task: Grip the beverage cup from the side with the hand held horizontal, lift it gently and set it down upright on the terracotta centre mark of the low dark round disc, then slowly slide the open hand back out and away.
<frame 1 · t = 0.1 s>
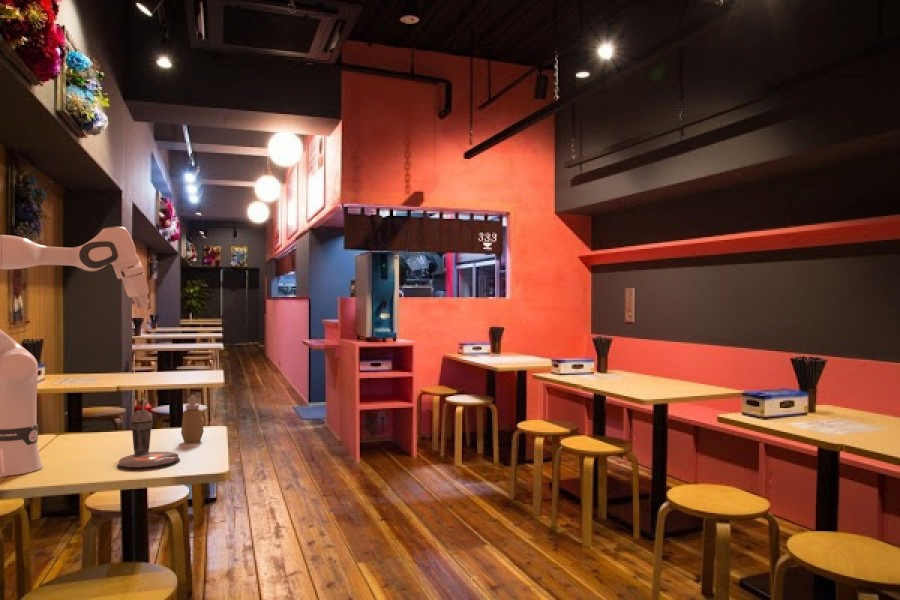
hand: (143, 307, 225), 52 cm above the table, tool tilted 20°, fingers open, 8 cm apart
squeeze bottle: (192, 442, 244), on the table
dark round disc: (149, 459, 211), point 1 cm above the table, hinge at 0.0°
turntable base: (149, 463, 211), on the table
beverage cup: (141, 454, 224), on the table
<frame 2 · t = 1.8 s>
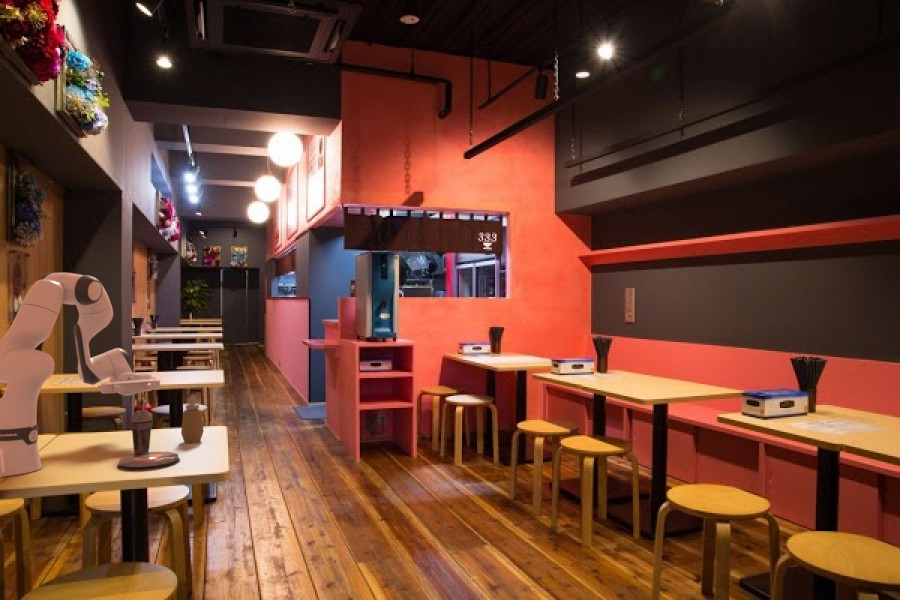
hand: (134, 388, 234), 22 cm above the table, tool horizontal, fingers open, 8 cm apart
nothing on the table moved.
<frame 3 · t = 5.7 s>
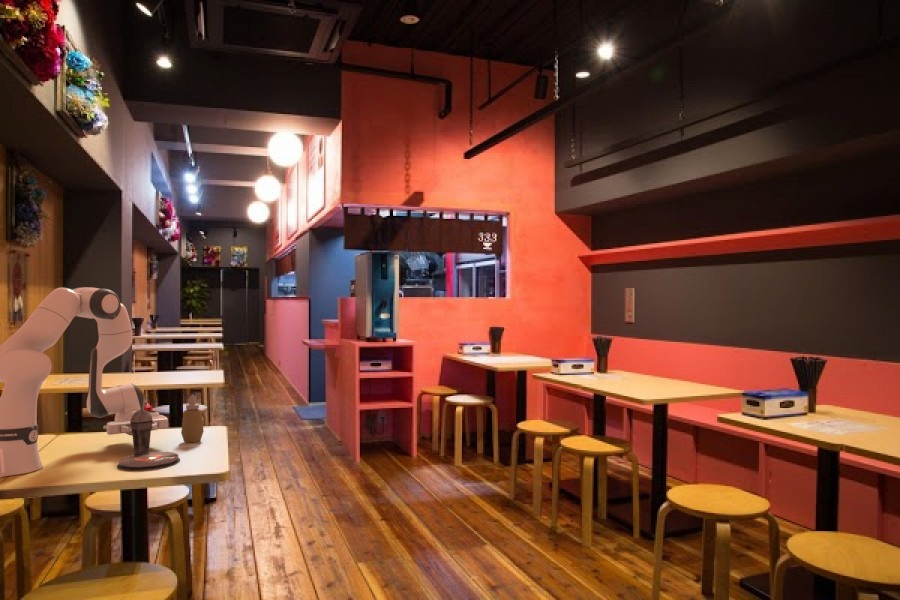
hand: (142, 428, 224), 9 cm above the table, tool horizontal, fingers closed on beverage cup, 7 cm apart
beverage cup: (141, 454, 224), on the table, touching gripper
everything else where it was.
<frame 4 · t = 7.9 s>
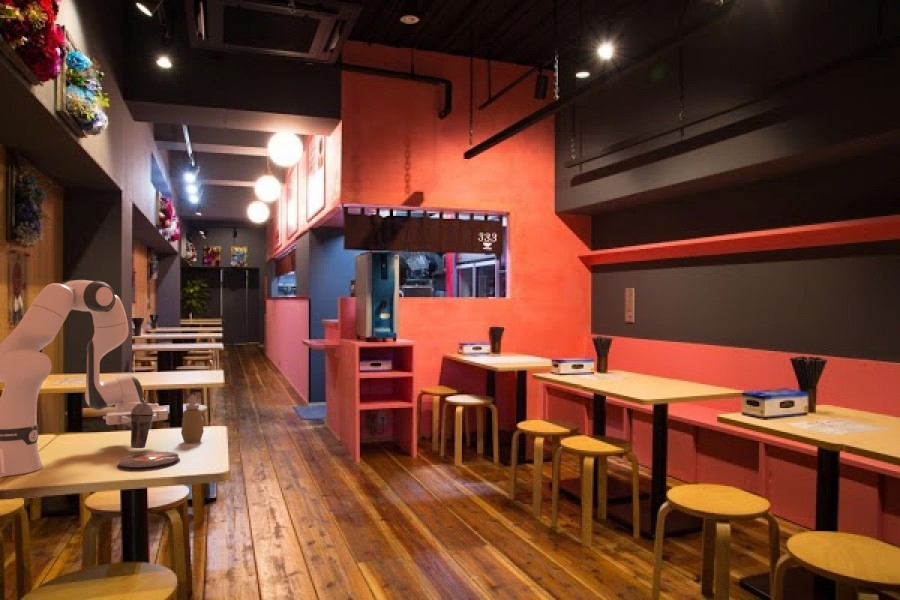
hand: (141, 419, 223), 12 cm above the table, tool horizontal, fingers closed on beverage cup, 7 cm apart
beverage cup: (137, 447, 224), point 2 cm above the table, touching gripper
everything else where it was.
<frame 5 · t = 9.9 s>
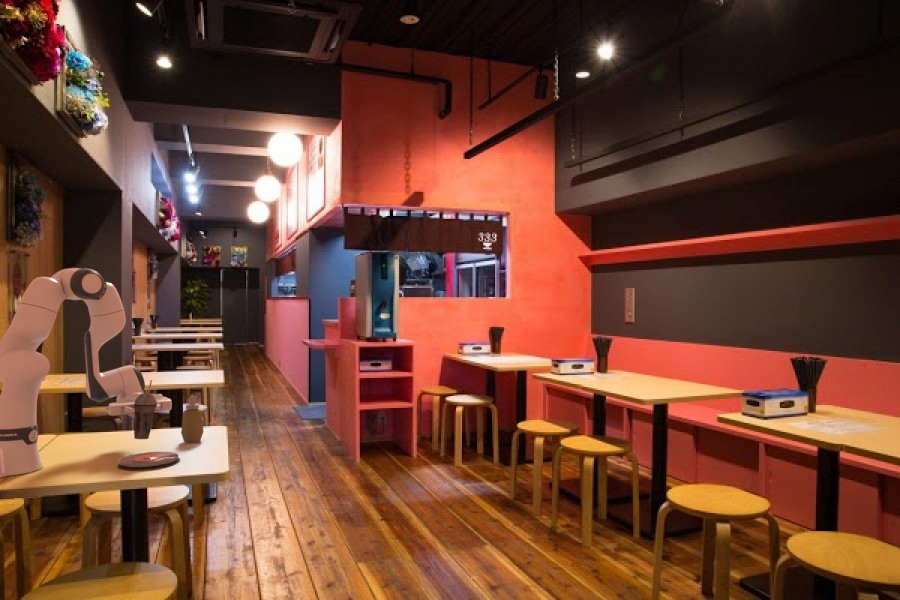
hand: (145, 409, 218), 17 cm above the table, tool horizontal, fingers closed on beverage cup, 7 cm apart
beverage cup: (141, 438, 218), point 7 cm above the table, touching gripper
everything else where it was.
when the fingers open (12 cm above the table, at t = 12.8 s): beverage cup stays where it is, resting on dark round disc.
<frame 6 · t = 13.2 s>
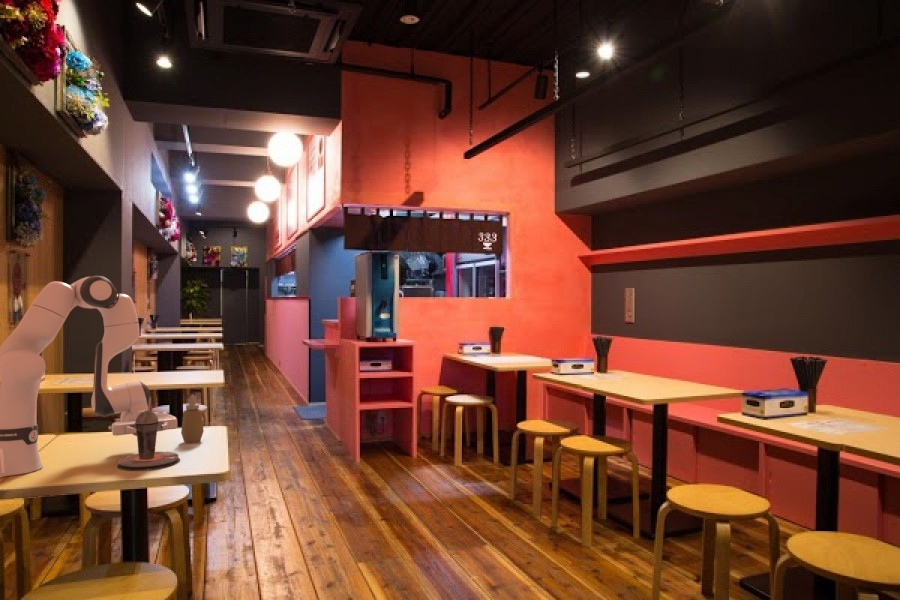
hand: (149, 429, 210), 12 cm above the table, tool horizontal, fingers open, 8 cm apart
dark round disc: (149, 459, 211), point 1 cm above the table, hinge at 0.0°, touching beverage cup
beverage cup: (146, 458, 210), point 2 cm above the table, touching gripper, dark round disc
everything else where it was.
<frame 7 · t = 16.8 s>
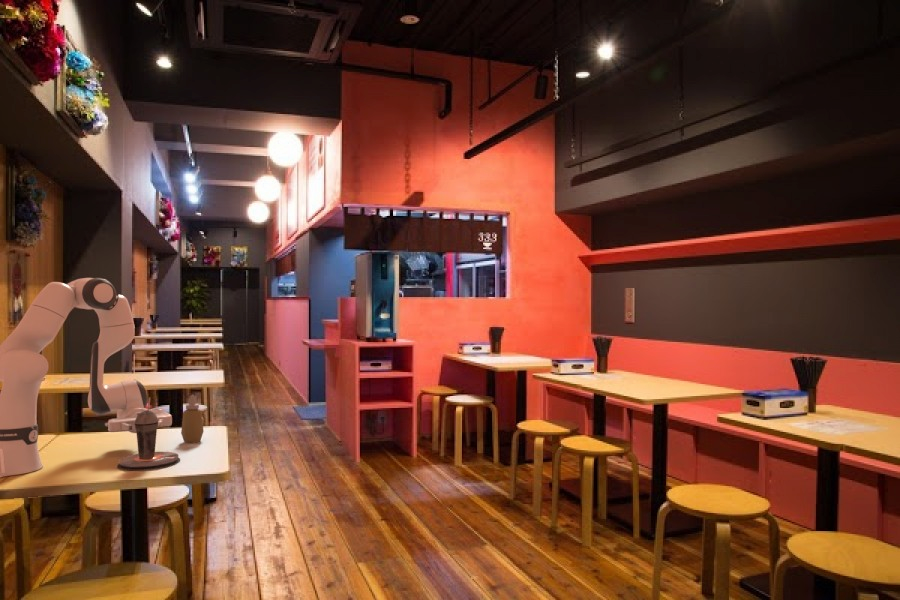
hand: (145, 426, 216), 12 cm above the table, tool horizontal, fingers open, 8 cm apart
beverage cup: (146, 458, 210), point 2 cm above the table, touching dark round disc
everything else where it was.
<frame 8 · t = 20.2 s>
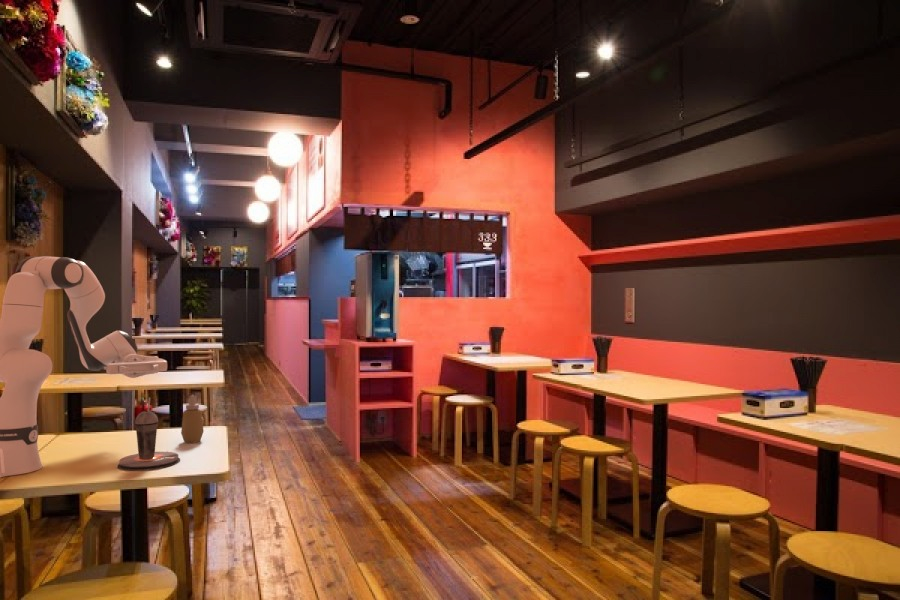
hand: (141, 368, 227), 30 cm above the table, tool horizontal, fingers open, 8 cm apart
nothing on the table moved.
at the end: beverage cup 0.8 cm from the dark round disc (horizontally); beverage cup tilted 0°; beverage cup touching dark round disc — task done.
